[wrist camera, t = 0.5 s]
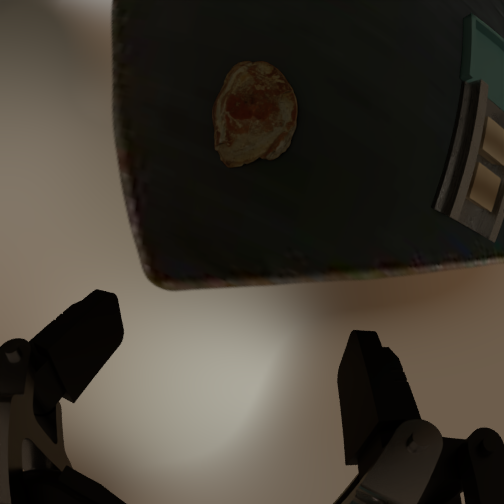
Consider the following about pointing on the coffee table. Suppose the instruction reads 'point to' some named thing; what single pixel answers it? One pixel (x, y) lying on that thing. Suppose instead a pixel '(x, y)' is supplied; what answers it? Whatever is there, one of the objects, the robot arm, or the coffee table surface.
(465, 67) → the tray
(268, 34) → the coffee table surface
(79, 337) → the robot arm
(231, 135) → the stone
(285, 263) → the coffee table surface
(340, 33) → the coffee table surface
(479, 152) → the chip
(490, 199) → the beige square block
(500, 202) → the slot rail
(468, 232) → the coffee table surface
